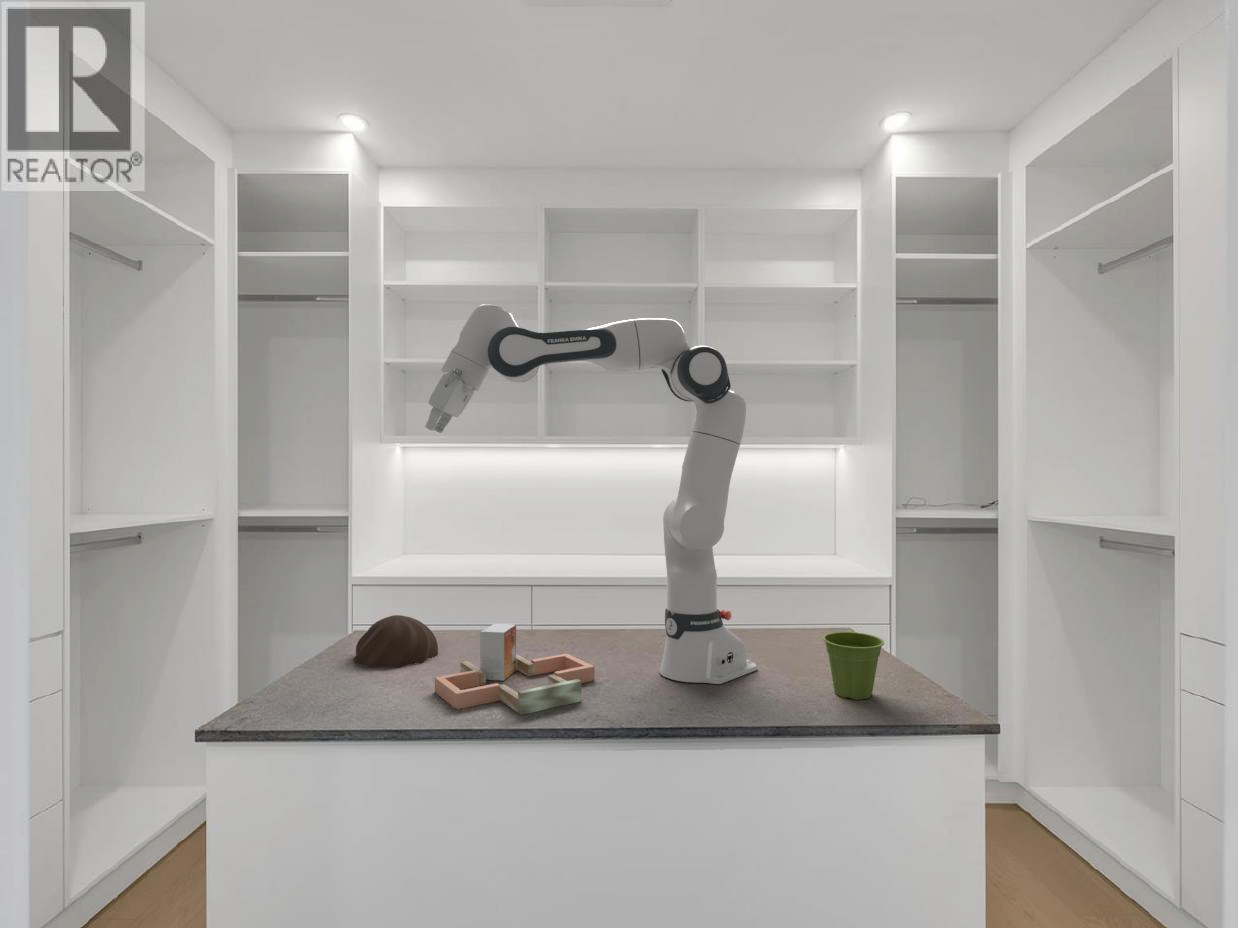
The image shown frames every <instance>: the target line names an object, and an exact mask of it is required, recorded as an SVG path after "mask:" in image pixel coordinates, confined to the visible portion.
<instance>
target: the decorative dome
mask: <svg viewBox="0 0 1238 928" xmlns="http://www.w3.org/2000/svg"><path fill="white" fill-rule="evenodd" d="M355 654H356V655H355V656H356V657H355V659H354V663H356V664H361V665H362V664H363V665H365V666H366V667H367V668H376V667H378V668H380V667H381V668H382V667H385V668H400V667H404V666H407V665H408V664H409V665H416V664H415V663H419V664H423V663H425V662H426V661H427V660H429V659H428V658H430V659H433V658H432V657H434V658H436V657H435V656H437V655H438V654H439V644H438V641H437V637H436V636H435V634H434V632H432V630H431V629H430V628H429V627H428V626H427V625H425V624H424V623H423V622H422V621H420V620H418V619H416V618H413V617H411V616H405V615H402V614H400V615H399V614H395V615H390V616H387V617H384V618H382V619H379V620H378V621H376V622H374V623H373V624H371V626H370V627H369V628H368V630H367V631H366V632H365V633H364V634H363V635H361V637H360V638H359V640H358V641H357V644H356V646H355ZM438 656H439V655H438ZM438 656H437V657H438ZM424 661H425V662H424Z"/></svg>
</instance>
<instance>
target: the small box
mask: <svg viewBox="0 0 1238 928" xmlns="http://www.w3.org/2000/svg"><path fill="white" fill-rule="evenodd" d="M479 637H480V641H479V644H480V648H479V652H480V653H479V656H480V657H479V658H480V662H479V663H480V664H479V667H480V668H479V669H480V670H482V671H484V672H485V673H486V681H506V680H507V678H509V677H510V676H511V675H512V674H514V673H515V672H516V671H517V669H516V654H517V624H511V623H492V624H491V625H489V626H488V627H487V628H485V629H483V630H481V631H479Z"/></svg>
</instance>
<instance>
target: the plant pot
mask: <svg viewBox="0 0 1238 928" xmlns="http://www.w3.org/2000/svg"><path fill="white" fill-rule="evenodd" d="M822 641H823V642H825V647H826V652H827V653H828V659H829V664H830V665H829V667H830V673H831V678H832V685H833V692H834V693H835V695H837V696H839V697H840V698H845V699H846V698H850V699H852V700H855V701H859V700H866V699H869V698H870V697H871V696H873V695H872V694H873V689H874V685H875V678H876V673H877V666H878V660H879V657H880V656H881V649H882V646H884V645H885V641H884V640H883V639H882V638H881V637H880V636H879V637H878V636H876V635H872V634H868V633H863V632H857V631H856V632H855V631H837V632H836V631H834V632H830V633H829V632H828V633H826V634H824V635H823V636H822Z"/></svg>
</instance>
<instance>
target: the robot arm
mask: <svg viewBox="0 0 1238 928" xmlns="http://www.w3.org/2000/svg"><path fill="white" fill-rule="evenodd" d="M574 362H588V363H592V364H595V365H597V366H599V367H601V368H603V369H604V370H606V371H614V372H616V371H617V372H629V371H630V372H633V371H641V370H647V369H660V370H661V372H662V373H661V374H663V377H664V379H665V381H666V384H667V386H668V388H669V390H670V392H671V393H672V394H673V395H674V396H675V397H676V398H677V399H679V400H682V401H684V402H689V403H690V402H693V403H694V405H695V408H696V414H695V415H696V416H695V421H694V424H693V428H692V429H691V430H692V431H691V434H690V438H689V442H688V445H687V446H686V447H687V448H686V451H685V455H684V457H683V462H682V465H681V477H680V481H679V487H678V488H679V489H678V492H677V498H675V499H672V501H671V502H670V503H669V504H668V505H667V506H666V507H665V510H664V513H663V523H662V524H663V544H664V554H665V555H664V557H665V566H666V567H665V568H666V608H665V611H664V627H665V633H666V634H665V642H664V650H663V656H662V660H661V665H660V667H659V668H660V669H659V673H660V675H661V676H662V677H664V678H667V679H670V680H673V681H677V682H684V683H704V684H706V683H707V684H711V685H721V684H724V683H728V681H732V680H735V679H737V678H740V677H742V676H745V675H748V674H751V673H752V672H756V671H757V670H758V666H757V664H756V663H755V662H754V661H751V659H747V650H746V645H745V643H744V642H743V640H742V639H741V638H740V637H738V636H737V635H736V634H734V633H733V632H732V631H731V630H729V629H728V628H727V627H726V626H725V625H724V622H723V620H726V621H730V620H731V618H732V612H731V611H729V610H725V609H722V610H720V609H718V574H717V569H716V564H715V558H714V557H715V555H714V550H713V549H714V548H713V547H714V546H716V545H717V544H718V543H719V542H720V541H721V539H722V536H723V534H724V531H725V518H726V514H727V513H726V512H727V508H728V507H727V506H728V498H729V491H730V484H731V479H732V475H733V472H734V467H735V465H736V460H737V457H738V453H739V450H740V447H741V444H742V443H741V442H742V439H743V435H744V431H745V426H746V425H745V424H746V417H747V404H746V400H745V399H744V398H743V397H742V396H741V395H740V394H739V393H738V392H735V391H733V390H731V387H732V385H731V381H730V376H729V374H728V368H727V363H726V359H725V358H724V356H723V355H722V354H721V352H720V351H718V350H717V349H715V348H714V347H711V346H708V345H696V346H693V347H691V346H689V344H688V343H687V337H686V334H685V331H684V329H683V327H682V326H681V324H680V322H678V321H676V320H674V319H671V318H670V319H668V318H652V317H651V318H650V317H648V318H647V317H646V318H634V319H626V320H619V321H615V322H610V323H608V324H607V323H606V324H603V325H600V326H595V327H590V328H587V329H576V330H565V331H552V332H550V331H549V332H536V331H533V330H528V329H526V328H524V327H523V328H522V327H520V326H519V325H518V324H517V322H516V321H515V319H514V317H513V314H512V313H511V312H510V311H508V310H506V309H504V308H503V307H500V306H498V305H495V304H490V303H489V304H488V303H484V304H480V305H478V306H477V307H475V309H474V310H473V311H472V313H471V315H470V316H469V318H468V319H467V321H466V322H465V324H464V326H463V327H462V329H461V331H460V333H459V338H458V341H457V343H456V344H455V346H454V347H452V349H451V350H450V352H449V355H448V356H447V358H446V360H445V362H444V364H443V365H442V367H441V370H440V371H441V372H442V373H444V374H442V376H441V378H440V379H439V381H438V382H437V384H436V386H435V388H434V389H433V390H432V391H433V392H432V394H431V395H430V397H429V400H428V405H430V406H431V410H430V413H429V416H428V420H427V421H426V424H425V426H424V427H425V429H428V431H429V430H430V431H435V432H437V433H440V434H442V433H443V432H444V430H445V429H446V427H447V426H448V424H449V423H450V422H451V420H452V419H453V417H454V418H459V416H461V415H462V413H463V412H464V410H465V409H466V407H467V405H468V404H469V402H470V400H471V399H472V398H473V396H474V394H475V392H478V391H480V388H481V386H482V384H483V381H484V380H485V378H486V376H487V375H488V372H489V371H490V369H491V368H492V369H494V370H495V371H496V372H497V373H499V374H500V375H501V376H502V377H503V378H504V379H506V380H508V381H510V382H514V383H525V382H527V381H529V380H531V379H533V378H534V377H535V376H536V374H537V373H538V372H539V368H540V366H541V367H542V366H543V365H550V364H553V365H554V364H560V363H574Z"/></svg>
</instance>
